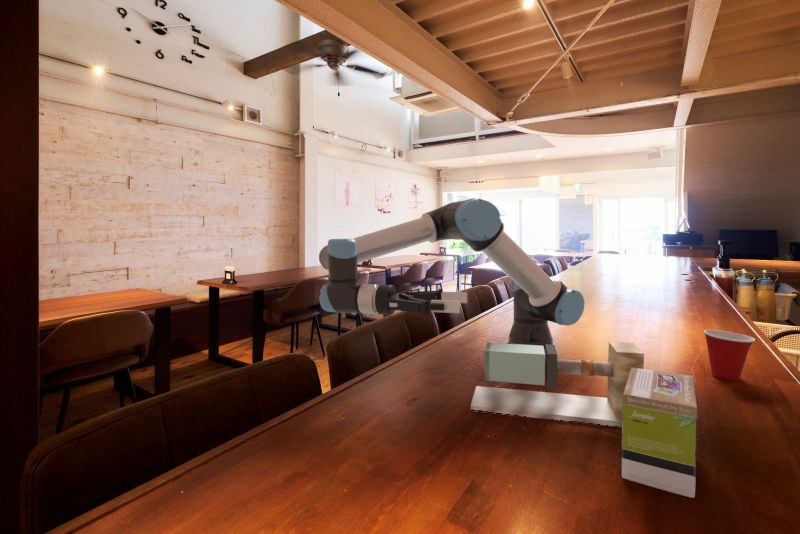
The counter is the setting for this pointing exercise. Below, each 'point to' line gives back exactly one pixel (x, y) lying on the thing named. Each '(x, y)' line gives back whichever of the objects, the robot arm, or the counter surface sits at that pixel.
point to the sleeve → (515, 363)
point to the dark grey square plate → (551, 366)
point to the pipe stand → (566, 404)
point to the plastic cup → (727, 353)
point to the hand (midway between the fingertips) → (463, 302)
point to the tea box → (660, 431)
